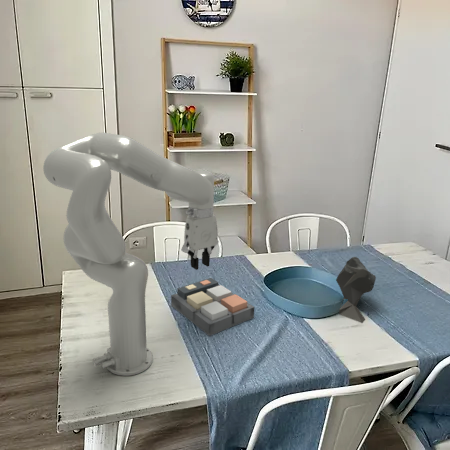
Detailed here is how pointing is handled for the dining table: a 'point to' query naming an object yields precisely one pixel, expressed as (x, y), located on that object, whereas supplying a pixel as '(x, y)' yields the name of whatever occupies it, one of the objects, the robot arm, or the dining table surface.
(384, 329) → the dining table surface
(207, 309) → the key grey front
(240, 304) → the key terracotta
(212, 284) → the keypad
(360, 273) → the dark faceted sculpture
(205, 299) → the key sand
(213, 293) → the key grey back
